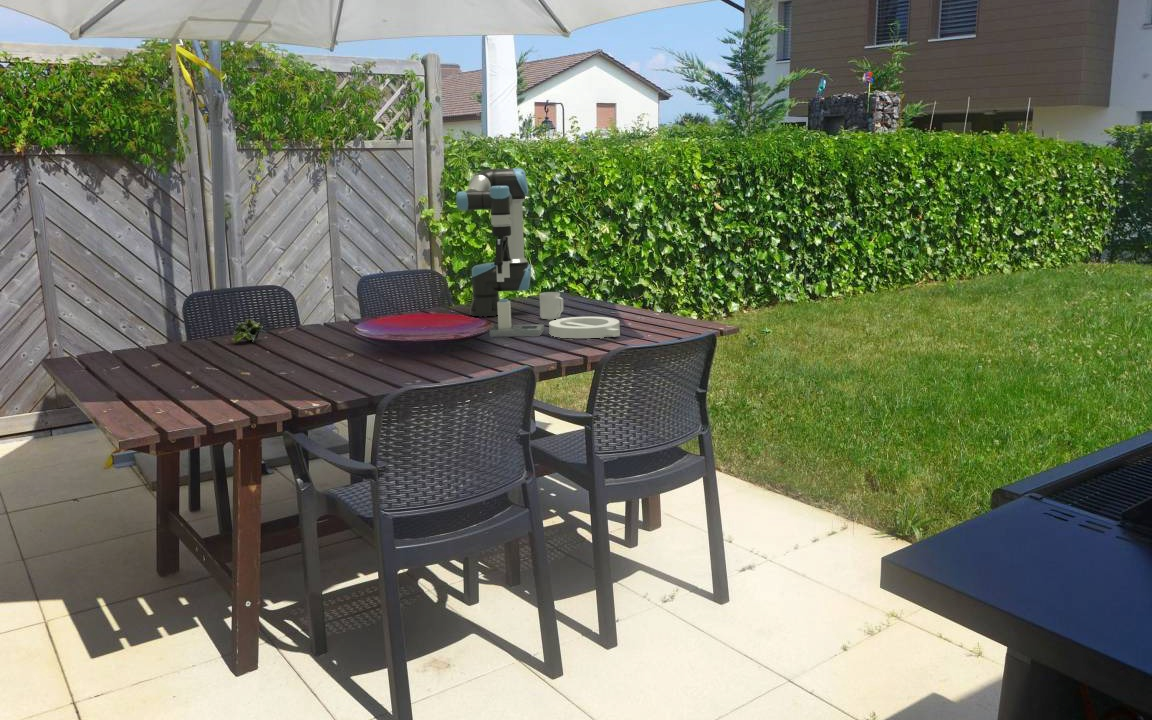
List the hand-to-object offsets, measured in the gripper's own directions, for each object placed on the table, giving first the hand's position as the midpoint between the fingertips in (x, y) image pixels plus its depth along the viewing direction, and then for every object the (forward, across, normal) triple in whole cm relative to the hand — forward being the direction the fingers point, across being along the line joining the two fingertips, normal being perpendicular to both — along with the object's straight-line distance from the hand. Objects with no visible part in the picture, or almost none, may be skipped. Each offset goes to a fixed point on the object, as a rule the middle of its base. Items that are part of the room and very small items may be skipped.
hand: (503, 279), depth 371 cm
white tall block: (+22, 0, 0) cm, 22 cm away
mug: (+22, +35, -15) cm, 44 cm away
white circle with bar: (+22, 0, -32) cm, 39 cm away
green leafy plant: (+22, -14, +100) cm, 104 cm away
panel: (+22, 0, -5) cm, 22 cm away
